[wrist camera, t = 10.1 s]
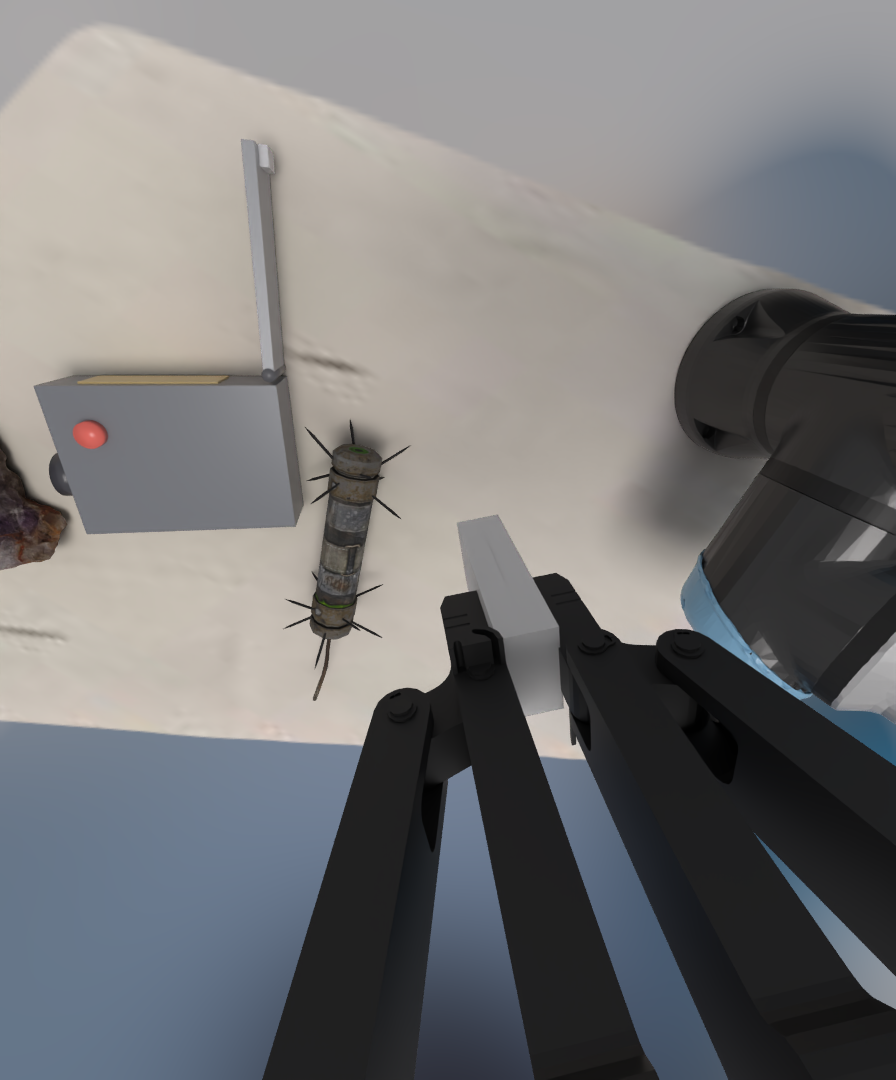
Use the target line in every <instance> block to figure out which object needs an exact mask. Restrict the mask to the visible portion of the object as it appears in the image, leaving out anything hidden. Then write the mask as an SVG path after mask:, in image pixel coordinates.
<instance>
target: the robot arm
mask: <svg viewBox="0 0 896 1080" xmlns="http://www.w3.org/2000/svg"><path fill="white" fill-rule="evenodd" d="M675 405H676V412H677V416H678V419H679V422H680V424H681V426H682V428H683V430H684V431H685V433H686V434H687V435H688V436H689V438H690V439H691V440H693V441H694V442H695V443H696V444H698V445H699V446H701V447H703V448H705V449H707V450H709V451H712V452H714V453H716V454H719V455H722V456H725V457H730V458H769V460H768V461H767V463H766V464H765V465H764V467H763V468H762V470H761V471H760V472H759V473H758V475H757V476H756V478H755V479H754V481H753V482H752V484H751V485H750V486H749V488H748V489H747V491H746V492H745V494H744V495H743V497H742V498H741V500H740V501H739V503H738V504H737V505H736V507H735V508H734V510H733V511H732V513H731V514H730V516H729V517H728V519H727V520H726V522H725V523H724V524H723V526H722V527H721V529H720V530H719V532H718V533H717V534H716V536H715V537H714V539H713V540H712V541H711V543H710V544H709V546H708V547H707V548H706V549H704V550H703V551H702V552H701V554H700V555H699V557H698V560H697V564H696V565H695V567H694V569H693V571H692V572H691V574H690V576H689V577H688V579H687V580H686V582H685V584H684V586H683V588H682V591H681V604H682V609H683V611H684V613H685V616H686V619H687V620H688V622H689V624H690V625H691V627H692V628H693V630H694V631H692V630H688V629H674V630H670V631H666V632H665V633H663V634H662V635H660V636H659V638H658V640H657V642H656V645H632V644H625V643H622V642H621V641H620V640H619V639H618V638H617V637H616V636H615V635H614V634H612V633H610V632H608V631H606V630H603V629H601V628H600V627H599V625H598V624H597V622H596V621H595V619H594V618H593V616H592V615H591V613H590V612H589V610H588V609H587V607H586V606H585V604H584V603H583V601H581V598H580V597H579V595H578V594H577V592H575V589H574V588H573V586H572V585H571V583H570V582H569V580H567V579H565V578H564V577H562V576H560V575H559V574H557V573H553V574H548V575H543V576H538V577H533V578H532V576H531V574H530V573H529V571H528V569H527V567H526V565H525V563H524V562H523V560H522V558H521V556H520V554H519V552H518V551H517V549H516V547H515V545H514V543H513V541H512V540H511V538H510V536H509V534H508V532H507V530H506V529H505V527H504V525H503V523H502V521H501V519H500V518H499V516H498V515H493V516H488V517H483V518H478V519H473V520H468V521H463V522H458V523H457V526H458V533H459V539H460V545H461V551H462V557H463V563H464V569H465V576H466V582H467V587H468V590H469V592H466V593H461V594H456V595H451V596H446V597H445V598H444V600H443V603H442V605H441V607H440V609H441V614H442V619H443V624H444V629H445V634H446V639H447V644H448V650H449V655H450V660H451V670H450V674H449V675H448V677H447V678H446V680H445V681H444V682H443V683H442V684H441V685H439V686H438V687H436V688H435V689H433V690H431V691H429V692H427V693H423V692H422V691H420V690H418V689H413V688H403V689H397V690H395V691H393V692H391V693H389V694H387V695H386V696H384V697H383V698H382V699H381V700H380V701H379V702H378V704H377V706H376V708H375V710H374V713H373V716H372V719H371V722H370V726H369V729H368V732H367V736H366V739H365V742H364V746H363V749H362V752H361V755H360V759H359V762H358V765H357V769H356V772H355V776H354V779H353V782H352V785H351V788H350V792H349V795H348V798H347V802H346V805H345V808H344V812H343V815H342V818H341V822H340V825H339V829H338V831H337V835H336V838H335V841H334V845H333V848H332V851H331V855H330V858H329V861H328V864H327V868H326V871H325V874H324V878H323V881H322V884H321V888H320V891H319V894H318V898H317V901H316V904H315V908H314V911H313V914H312V917H311V921H310V924H309V927H308V930H307V934H306V937H305V941H304V944H303V947H302V950H301V954H300V957H299V960H298V964H297V967H296V971H295V973H294V977H293V980H292V984H291V987H290V990H289V993H288V997H287V1000H286V1003H285V1007H284V1010H283V1013H282V1017H281V1020H280V1023H279V1026H278V1030H277V1033H276V1036H275V1040H274V1043H273V1047H272V1050H271V1053H270V1056H269V1059H268V1063H267V1066H266V1069H265V1073H264V1076H263V1079H262V1080H414V1074H415V1065H416V1056H417V1048H418V1039H419V1030H420V1022H421V1013H422V1004H423V995H424V986H425V977H426V969H427V961H428V952H429V943H430V934H431V925H432V917H433V908H434V900H435V891H436V882H437V873H438V864H439V855H440V847H441V838H442V830H443V821H444V812H445V804H446V794H447V785H448V779H449V778H450V777H452V776H453V775H455V774H457V773H459V772H460V771H462V770H464V769H466V768H468V767H469V766H471V765H472V770H473V775H474V780H475V784H476V789H477V795H478V800H479V805H480V810H481V815H482V820H483V825H484V830H485V835H486V840H487V845H488V850H489V855H490V860H491V865H492V869H493V875H494V880H495V885H496V889H497V895H498V900H499V904H500V909H501V914H502V919H503V924H504V929H505V934H506V939H507V944H508V949H509V954H510V959H511V964H512V969H513V974H514V979H515V984H516V989H517V994H518V999H519V1004H520V1009H521V1014H522V1019H523V1024H524V1029H525V1034H526V1039H527V1044H528V1048H529V1054H530V1059H531V1064H532V1068H533V1073H534V1079H535V1080H659V1078H658V1076H657V1073H656V1071H655V1069H654V1067H653V1066H652V1064H651V1063H650V1061H649V1060H648V1058H647V1057H646V1055H645V1053H644V1051H643V1049H642V1047H641V1044H640V1042H639V1039H638V1037H637V1034H636V1031H635V1028H634V1026H633V1023H632V1020H631V1017H630V1014H629V1011H628V1008H627V1006H626V1003H625V1000H624V997H623V994H622V991H621V989H620V986H619V983H618V980H617V977H616V974H615V971H614V969H613V966H612V963H611V960H610V957H609V955H608V952H607V949H606V946H605V943H604V940H603V938H602V934H601V932H600V929H599V926H598V923H597V920H596V917H595V915H594V912H593V909H592V906H591V903H590V900H589V897H588V895H587V892H586V889H585V886H584V883H583V880H582V878H581V875H580V872H579V869H578V866H577V863H576V860H575V858H574V855H573V852H572V849H571V846H570V843H569V840H568V838H567V835H566V832H565V829H564V827H563V823H562V821H561V818H560V815H559V812H558V809H557V806H556V803H555V801H554V798H553V795H552V792H551V789H550V786H549V784H548V781H547V778H546V775H545V773H544V769H543V767H542V764H541V761H540V758H539V755H538V752H537V749H536V747H535V744H534V741H533V738H532V735H531V732H530V729H529V727H528V724H527V721H526V718H525V716H530V715H535V714H539V713H544V712H548V711H553V710H558V709H562V708H564V706H563V696H564V698H565V700H566V702H567V704H568V706H569V717H570V737H571V743H572V745H576V737H577V740H578V742H579V744H580V746H581V749H582V751H583V753H584V755H585V758H586V760H587V762H588V764H589V767H590V768H591V771H592V773H593V776H594V778H595V780H596V782H597V784H598V787H599V789H600V791H601V794H602V796H603V798H604V800H605V803H606V805H607V807H608V809H609V811H610V814H611V816H612V818H613V821H614V823H615V825H616V827H617V830H618V832H619V834H620V836H621V838H622V841H623V843H624V845H625V848H626V849H627V852H628V854H629V856H630V859H631V861H632V863H633V866H634V868H635V870H636V872H637V875H638V877H639V879H640V881H641V883H642V886H643V888H644V890H645V893H646V895H647V897H648V899H649V902H650V904H651V906H652V908H653V911H654V913H655V915H656V917H657V919H658V922H659V924H660V926H661V929H662V931H663V933H664V935H665V937H666V940H667V942H668V944H669V946H670V949H671V951H672V953H673V956H674V958H675V960H676V962H677V965H678V967H679V969H680V971H681V974H682V976H683V978H684V980H685V983H686V985H687V987H688V989H689V991H690V994H691V996H692V998H693V1001H694V1003H695V1005H696V1007H697V1010H698V1012H699V1014H700V1016H701V1019H702V1020H703V1023H704V1025H705V1028H706V1030H707V1032H708V1034H709V1037H710V1039H711V1041H712V1043H713V1045H714V1048H715V1050H716V1052H717V1055H718V1057H719V1059H720V1061H721V1064H722V1066H723V1068H724V1070H725V1073H726V1075H727V1077H728V1080H896V1009H894V1008H892V1007H890V1006H888V1005H886V1004H884V1003H882V1002H881V1001H879V1000H877V999H875V998H873V997H872V996H871V995H869V993H867V992H866V991H865V990H864V989H863V988H862V987H861V985H860V984H859V983H858V981H857V980H856V979H855V978H854V976H853V975H852V973H851V972H850V971H849V969H848V968H847V966H846V965H845V963H844V962H843V961H842V959H841V958H840V957H839V955H838V953H837V952H836V950H835V949H834V948H833V946H832V945H831V944H830V942H829V941H828V939H827V938H826V936H825V935H824V933H823V932H822V930H821V929H820V928H819V926H818V925H817V923H816V922H815V920H814V919H813V917H812V916H811V915H810V913H809V912H808V910H807V909H806V907H805V906H804V904H803V903H802V902H801V900H800V899H799V897H798V896H797V894H796V893H795V892H794V890H793V889H792V887H791V886H790V884H789V883H788V882H787V880H786V879H785V877H784V876H783V874H782V873H781V871H780V870H779V869H778V867H777V866H776V864H775V863H774V861H773V860H772V859H771V857H770V856H769V854H768V853H767V851H766V850H765V848H764V847H763V846H762V844H761V843H760V841H759V840H758V838H757V837H756V835H757V836H758V837H759V838H760V839H761V840H762V841H763V842H764V843H765V844H766V845H767V846H768V847H769V848H770V849H771V850H772V851H773V852H774V853H775V854H776V855H777V856H778V857H779V858H780V859H781V860H782V861H783V862H784V863H785V864H786V865H787V866H788V867H789V868H790V869H791V871H792V872H793V873H795V875H796V876H797V877H798V878H799V879H800V880H801V881H802V882H803V883H805V885H806V886H807V887H808V888H809V889H810V890H811V891H812V892H813V893H814V894H815V895H816V896H817V897H818V898H819V899H820V900H821V901H822V902H823V903H824V904H825V905H826V906H827V907H828V908H829V909H830V910H831V911H832V912H833V913H834V914H835V915H836V916H837V917H838V918H839V919H840V920H841V921H842V922H843V923H844V924H845V925H846V926H847V927H848V928H849V929H850V930H851V931H852V932H853V933H854V934H855V935H856V936H857V937H858V939H859V940H861V941H862V943H864V944H865V946H866V947H867V948H868V949H869V950H870V951H871V952H872V953H873V954H874V955H875V956H876V957H877V958H878V959H879V960H880V961H881V962H882V963H883V964H884V965H885V966H886V967H887V968H888V969H889V970H890V971H891V972H892V973H893V974H894V975H895V976H896V766H894V765H893V764H892V763H890V762H889V761H887V760H886V759H884V758H883V757H881V756H880V755H878V754H877V753H876V752H874V751H873V750H871V749H870V748H868V747H867V746H865V745H864V744H863V743H861V742H860V741H858V740H857V739H855V738H854V737H852V736H851V735H849V734H848V733H847V732H845V731H844V730H842V729H841V728H839V727H838V726H836V725H835V724H833V723H832V722H831V721H829V720H828V719H826V718H825V717H824V716H822V715H821V714H819V713H818V712H816V711H815V710H813V709H812V708H810V707H809V706H808V705H806V704H805V703H803V702H802V701H800V700H801V699H803V698H809V697H810V696H811V695H812V694H814V695H815V696H817V697H818V698H819V699H821V700H822V701H824V702H825V703H826V704H828V705H829V706H831V707H832V708H834V709H836V710H850V711H870V712H874V713H878V714H881V715H883V716H884V717H886V718H887V719H888V720H890V721H891V722H893V723H894V724H896V315H880V314H851V313H849V312H847V311H845V310H843V309H842V308H840V307H838V306H836V305H834V304H832V303H830V302H829V301H827V300H825V299H823V298H821V297H819V296H818V295H816V294H813V293H811V292H807V291H803V290H798V289H766V290H760V291H756V292H752V293H749V294H747V295H744V296H742V297H740V298H738V299H736V300H734V301H732V302H731V303H729V304H728V305H726V306H725V307H723V308H722V309H721V310H720V311H718V312H717V313H716V314H715V315H714V316H713V317H712V318H711V319H710V320H709V321H708V322H707V323H706V324H705V325H704V326H703V327H702V328H701V330H700V331H699V332H698V334H697V335H696V336H695V338H694V339H693V341H692V343H691V344H690V346H689V348H688V350H687V351H686V354H685V356H684V358H683V360H682V363H681V366H680V369H679V372H678V376H677V381H676V388H675ZM753 832H754V833H755V834H756V835H755V834H754V833H753Z"/></svg>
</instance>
